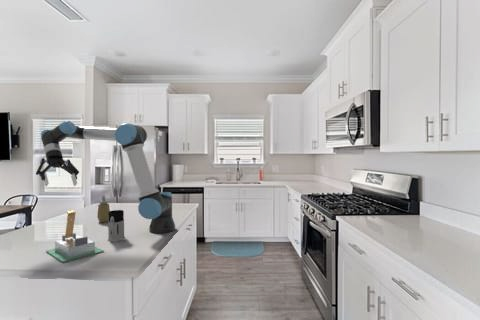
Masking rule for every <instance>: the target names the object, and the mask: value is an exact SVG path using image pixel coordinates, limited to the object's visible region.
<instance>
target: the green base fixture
mask: <svg viewBox="0 0 480 320" xmlns="http://www.w3.org/2000/svg"><path fill="white" fill-rule="evenodd" d="M95 245H96V242H95V241H93V240H92V239H89V238H88V236H83V235H77V233H75V232H73V237H71V238H65V234H64V235H61V239H57V240H56V239H55V240H54V248H51V249H47V250H45V252H46V253H47V254H49V255H50V256H51V255H52V256H51V257H53V258H54V259H56V260H57V261H59V262H61V263H62V264H64V263H68V262H71V261H72V262H73V261H75V260H80V259H83V258H87V257H90V256H94V255H98V254H102V253H105V250H103V249H101V248H99V247H97V246H95Z"/></svg>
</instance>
